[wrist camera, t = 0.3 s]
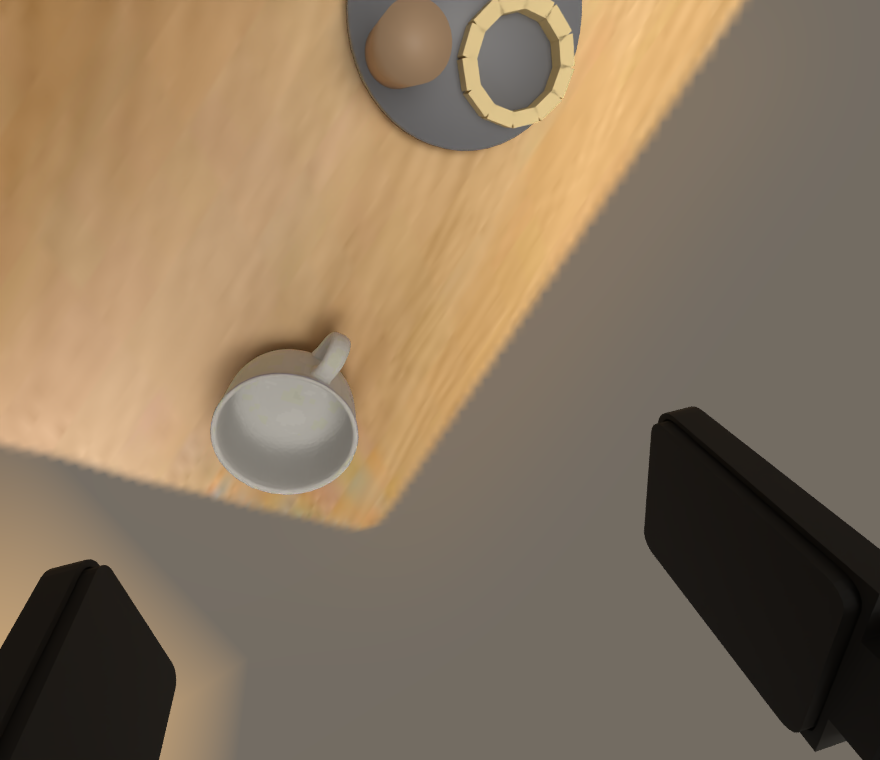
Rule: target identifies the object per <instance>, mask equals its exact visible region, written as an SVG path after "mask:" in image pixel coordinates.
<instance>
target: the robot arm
mask: <svg viewBox="0 0 880 760" xmlns="http://www.w3.org/2000/svg"><path fill="white" fill-rule="evenodd" d="M644 535H645V539H646V542H647V545H648V547H649V549H650V550H651V552H652V553H653V554H654V555H655V557H656V558H657V560H658V561H659V562H660V564H661V565H662V566H663V568H664V569H665V570H666V571H667V573H668V574H669V575H670V577H671V578H672V579H673V581H674V582H675V583H676V584H677V586H678V587H679V588H680V590H681V591H682V592H683V594H684V595H685V596H686V598H687V599H688V600H689V602H690V603H691V604H692V605H693V607H694V608H695V610H696V611H697V612H698V613H699V615H700V616H701V617H702V619H703V620H704V621H705V623H706V624H707V625H708V626H709V628H710V629H711V630H712V632H713V633H714V634H715V636H716V637H717V638H718V640H719V641H720V642H721V644H722V645H723V646H724V648H725V649H726V650H727V651H728V653H729V654H730V655H731V657H732V658H733V659H734V661H735V662H736V663H737V665H738V666H739V667H740V668H741V670H742V671H743V672H744V674H745V675H746V676H747V678H748V679H749V680H750V681H751V683H752V684H753V685H754V687H755V688H756V689H757V691H758V692H759V693H760V695H761V696H762V697H763V699H764V700H765V701H766V703H767V704H768V705H769V706H770V708H771V709H772V710H773V712H774V713H775V714H776V716H777V717H778V718H779V720H780V721H781V722H782V723H783V724H784V725H785V726H786V727H787V728H788V729H789V730H791V731H793V732H800V733H801V734H802V736H803V737H804V738H805V739H806V741H807V742H808V743H809V745H810V746H811V747H812V748H813V749H814V751H815V752H816V751H819V750H822V749H824V748H827V747H830V746H833V745H836V744H839V743H841V742H844V741H847V742H848V743H849V744H850V745H851V747H852V748H853V749H854V750H855V751H856V753H857V754H858V755H859V756H860V757H861V758H862V760H880V549H879V548H877V547H876V546H875V545H874V544H872V543H871V542H870V541H869V540H867V539H866V538H865V537H864V536H862V535H861V534H860V533H858V532H857V531H856V530H855V529H853V528H852V527H851V526H849V525H848V524H847V523H846V522H844V521H843V520H842V519H840V518H839V517H838V516H836V515H835V514H834V513H833V512H831V511H830V510H829V509H828V508H826V507H825V506H824V505H823V504H821V503H820V502H819V501H817V500H816V499H815V498H814V497H812V496H811V495H810V494H808V493H807V492H806V491H805V490H803V489H802V488H801V487H799V486H798V485H797V484H796V483H794V482H793V481H792V480H790V479H789V478H788V477H787V476H785V475H784V474H783V473H782V472H780V471H779V470H778V469H776V468H775V467H774V466H773V465H771V464H770V463H769V462H767V461H766V460H765V459H764V458H762V457H761V456H760V455H759V454H757V453H756V452H755V451H753V450H752V449H751V448H749V447H748V446H747V445H746V444H744V443H743V442H742V441H741V440H739V439H738V438H737V437H735V436H734V435H733V434H731V433H730V432H729V431H728V430H727V429H725V428H724V427H723V426H721V425H720V424H719V423H718V422H716V421H715V420H714V419H712V418H711V417H710V416H709V415H707V414H706V413H705V412H703V411H702V410H701V409H699V408H697V407H688V408H684V409H680V410H676V411H672V412H668V413H664V414H662V415H661V416H660V418H659V421H658V424H655V425H654V426H653V427H652V431H651V443H650V457H649V471H648V485H647V499H646V513H645V526H644ZM175 687H176V674H175V669H174V666H173V664H172V662H171V661H170V659H169V657H168V656H167V654H166V653H165V651H164V650H163V648H162V647H161V645H160V644H159V642H158V640H157V639H156V637H155V636H154V634H153V633H152V631H151V630H150V628H149V626H148V625H147V623H146V622H145V620H144V619H143V617H142V616H141V614H140V613H139V611H138V610H137V608H136V606H135V605H134V603H133V602H132V600H131V599H130V597H129V596H128V594H127V592H126V591H125V589H124V588H123V586H122V585H121V583H120V582H119V580H118V579H117V577H116V576H115V574H114V573H113V571H112V570H111V568H110V567H108V566H106V565H102V566H100V565H99V564H98V563H97V562H96V561H94V560H91V559H90V560H83V561H80V562H76V563H72V564H68V565H64V566H60V567H56V568H52V569H49V570H48V571H46V572H45V573H44V574H43V576H42V577H41V578H40V580H39V582H38V584H37V585H36V587H35V589H34V591H33V592H32V594H31V596H30V598H29V599H28V601H27V603H26V605H25V607H24V608H23V610H22V612H21V613H20V615H19V617H18V619H17V621H16V622H15V624H14V626H13V627H12V629H11V631H10V633H9V634H8V636H7V638H6V640H5V641H4V643H3V645H2V647H1V649H0V760H159V757H160V753H161V748H162V744H163V740H164V735H165V731H166V727H167V722H168V718H169V714H170V709H171V705H172V701H173V696H174V692H175Z"/></svg>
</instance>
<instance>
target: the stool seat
mask: <svg viewBox="0 0 880 760" xmlns="http://www.w3.org/2000/svg"><path fill="white" fill-rule="evenodd" d="M346 14H347V28H348V35H349V41H350V46H351V51H352V54H353V57H354V61H355V64H356V67H357V69H358V72H359V74H360V76H361V79H362V81H363V83H364V85H365V87H366V88H367V90H368V92H369V94H370V95H371V97H372V98H373V100H374V101H375V103H376V104H377V105H378V107H379V108H380V109H381V110H382V112H383V113H384V114H385V115H386V116H387V117H388V118H389V119H390V120H391V121H392V122H393V123H394V124H396V125H397V126H398V127H399V128H401V129H402V130H403V131H405V132H406V133H408V134H410V135H411V136H413V137H414V138H416V139H419V140H421V141H423V142H425V143H428V144H431V145H434V146H438V147H441V148H445V149H451V150H459V151H473V150H480V149H486V148H490V147H493V146H496V145H499V144H502V143H504V142H506V141H508V140H510V139H512V138H514V137H516V136H517V135H519V134H520V133H522V132H523V131H525V130H526V129H527V128H529V127H530V126H531V125H532V124H533V123H538V122H539V121H542V120H543V119H544V118H545V117H546V116H547V115H548V114H549V113H550V112H551V111H552V110H553V109H554V108H555V107H556V106H557V105H558V104H559V103H560V102H561V101H562V100H561V99H563V98H564V95H565V93H566V90H567V87H568V84H569V82H570V79H571V76H572V74H573V71H574V69H573V68H571V67H572V66H575V61H574V56H575V53H576V49H577V44H578V39H579V34H580V26H581V16H582V0H347V7H346Z"/></svg>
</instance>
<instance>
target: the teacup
mask: <svg viewBox="0 0 880 760" xmlns="http://www.w3.org/2000/svg"><path fill="white" fill-rule="evenodd" d="M350 346H351V343H350V340H349V338H347V337H346V336H345V335H343V334H341V333H338V332H332V333H330V334H329V335H328V336H327V337H326V338H325V339H324V340H323V341H322V342H321V344H320V345H319V346H318V347H317V348H316V349H315V350H314V351H313V352H312V353H310V352H307V351H303V350H296V349H281V350H275V351H271V352H268V353H265V354H262V355H260V356H258V357H256V358H255V359H253V360H251V361H250V362H249V363H247V364H246V365H245V366H244V367H243V368H242V369H241V370H240V371H239V372H238V373H237V374H236V376H235V377H234V379H233V380H232V382H231V383H230V385H229V387H228V389H227V390H226V392H225V394H224V397H223V398H222V400H221V401H220V403H219V404H218V406H217V407H216V409H215V411H214V414H213V418H212V422H211V429H210V430H211V441H212V446H213V449H214V451H215V454H216V456H217V457H218V459H219V461H220V462H221V463H222V465H223V466H224V467H225V468H226V469H227V470H228V471H229V472H230V473H231V474H232V475H233V476H234V477H236V478H237V479H238V480H240V481H241V482H243V483H245V484H246V485H248V486H250V487H252V488H256V489H258V490H261V491H264V492H268V493H273V494H283V495H289V494H300V493H305V492H309V491H313V490H315V489H318V488H321V487H323V486H324V485H327V484H328V483H330V482H332V481H333V480H335V479H336V478H337V477H338V476H340V475H341V474H342V472H343V471H344V470H345V469H346V468H347V467H348V466H349V464H350V462H351V461H352V459H353V456H354V454H355V451H356V447H357V444H358V428H357V422H356V414H355V405H354V400H353V395H352V392H351V389H350V387H349V384H348V382H347V381H346V379H345V378H344V376H343V375H342V373H341V372H340V370H341V368H342V367H343V365H344V363H345V361H346V359H347V357H348V354H349V351H350Z"/></svg>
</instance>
